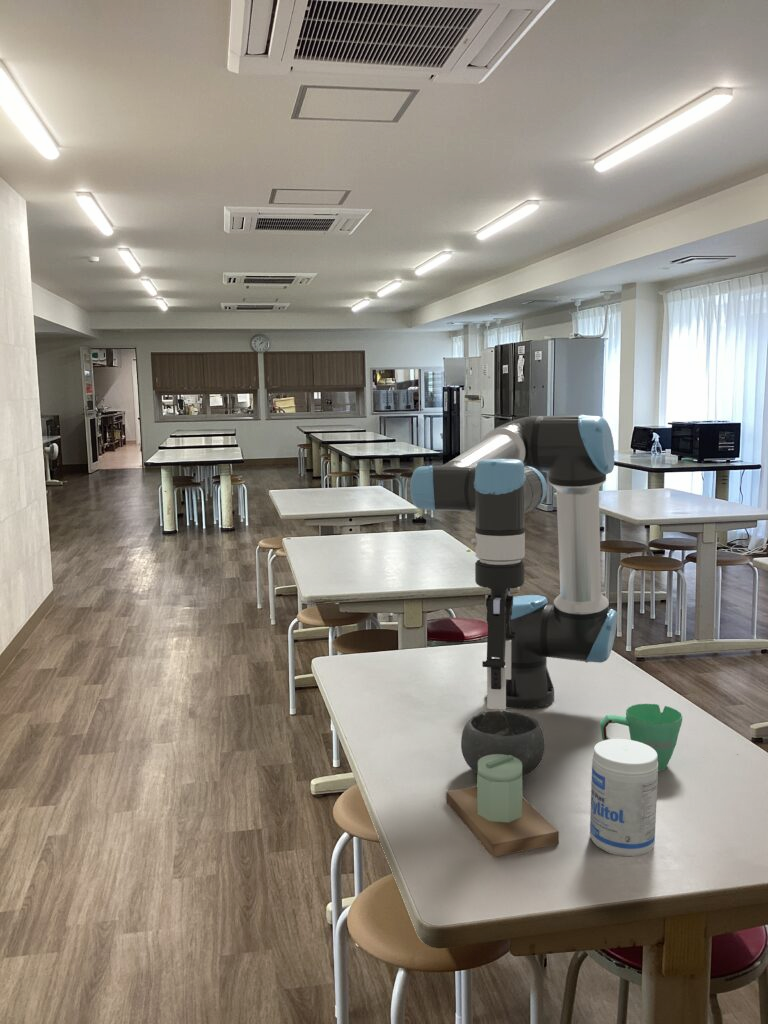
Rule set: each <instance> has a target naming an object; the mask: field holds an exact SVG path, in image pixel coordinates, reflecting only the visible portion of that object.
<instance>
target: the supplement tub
mask: <svg viewBox="0 0 768 1024" xmlns="http://www.w3.org/2000/svg"><path fill="white" fill-rule="evenodd" d="M657 758H658V757H657V752H656V751H655V750H654V749H653V748H652V747H650V746H648V745H646V744H644V743H641V742H637V741H633V740H631V739H626V738H625V739H624V738H609V740H604V741H603V740H602V741H599V742H597V743H596V744H594V748H593V754H592V759H591V761H592V762H591V782H590V783H591V786H590V787H591V788H590V789H591V790H590V815H589V816H590V818H589V819H590V821H589V822H590V823H589V835H590V839H591V840H592V842H593V843H594V845H596V846H597V847H598V848H600V849H601V850H603V851H605V852H607V853H610V854H613V855H617V856H622V857H637V856H642V855H645V854H647V853H649V852H650V851H651V850H652V849H653V848H654V846H655V842H656V841H655V839H656V822H657V821H656V819H657V818H656V817H657V801H658V800H657V799H658V798H657V797H658V780H659V779H658V775H659V773H658V772H659V771H658V761H657Z"/></svg>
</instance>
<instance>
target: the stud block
mask: <svg viewBox="0 0 768 1024" xmlns="http://www.w3.org/2000/svg"><path fill="white" fill-rule="evenodd" d="M446 804H447V805H448V806H449V808H450V809H451V810H452V811H453V812H454V813H455V815H457V817H458V818H459V819H460V820H461V821H462V823H463V824H464V825H465V826H466V828H468V830H469V831H470V832H471V833H472V834H473V836H474V837H475V838H476V839H477V840H478V842H479V843H480V844H481V845H482V846H483V847H484V848H485V850H486V851H487V852H488V853H489V854H490V855H491V856H492V858H495V857H499V856H504V855H510V854H514V853H519V852H524V851H529V850H535V849H539V848H544V847H549V846H554V845H555V846H556V845H558V844H559V843H560V842H559V841H560V840H559V839H560V837H559V833H560V832H559V830H558V829H557V828H556V827H555V826H554V825H553V824H552V823H550V822H549V821H548V820H547V819H546V818H545V817H544V816H543V815H542V814H541V813H540V812H539V811H538V810H537V809H535V807H534V806H533V805H531V803H529V802H528V801H527V800H526V799H525V797H523V796H522V817H521V818H518V819H516V820H513V821H511V822H493V821H489V820H487V819H485V818H483V817H482V816H480V815H478V814H477V785H476V786H472V787H465V788H459V789H455V790H454V789H453V790H447V791H446Z"/></svg>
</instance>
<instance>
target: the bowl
mask: <svg viewBox="0 0 768 1024" xmlns="http://www.w3.org/2000/svg"><path fill="white" fill-rule="evenodd" d="M545 746H546V745H545V734H544V732H543V729H542V726H541V724H540V722H539V721H538V720H536V718H534V717H532V716H530V715H527V714H526V713H521V712H519V711H518V712H517V711H507V710H505V709H501V710H486V711H481V712H479V713H477V714H474V715H473V716H471V717H470V718H469V719H468V720H467V722H466V723H465V725H464V727H463V729H462V732H461V740H460V748H461V749H460V750H461V753H462V756H463V759H464V761H465V763H466V764H467V765H468V766H469V768H470V769H471V770H472V771H474V772H475V773H476V774H478V760H479V759H480V758H482V757H484V756H487V755H493V754H503V755H512V756H514V757H515V758H517V759H519V760H520V761H521V762H522V778H524V777H526V776H527V775H529V774H531V773H533V772H534V771H535V770H536V769H537V768H538V767H539V766H540V764H541V763H542V760H543V758H544V754H545V749H546V747H545Z"/></svg>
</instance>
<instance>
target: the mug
mask: <svg viewBox="0 0 768 1024" xmlns="http://www.w3.org/2000/svg"><path fill="white" fill-rule="evenodd" d="M601 719H602V720H600V721H599V726H600V733H601V734H600V735H601V740H602V741H604V740H609V739H610V737H608V735H607V726H609V725H610V724H619V725H623V726H626V727H628V731H629V738H630V740H633V741H637V742H641V743H644V744H646V745H648V746H650V747H652V748H653V749H654V750H655V751H656V752H657V757H658V758H657V761H658V772H659V771H664V770H665V769H667V767H668V765H669V762H670V760H671V758H672V756H673V753H674V752H675V751H674V750H675V748H676V745H677V742H678V738H679V737H678V736H679V734H680V733H679V732H680V730H681V727H682V724H683V714H682V713H681V712H680V711H679V710H678V709H676V708H674V707H670V706H667V705H664V707H663V710H662V712H661V708H660V706H659V704H658V703H657V704H656V703H638V704H633V705H631V706H629V707H627V708H626V710H625V716H623V715H617V714H607V715H605V716H604V717H603V718H601Z"/></svg>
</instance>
